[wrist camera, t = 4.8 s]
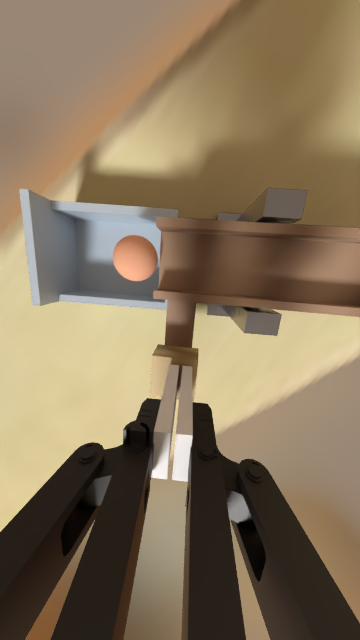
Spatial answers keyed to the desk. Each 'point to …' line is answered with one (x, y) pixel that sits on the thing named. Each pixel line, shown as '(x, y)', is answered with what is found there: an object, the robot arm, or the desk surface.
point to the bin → (87, 251)
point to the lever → (248, 276)
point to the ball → (135, 258)
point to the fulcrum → (266, 209)
